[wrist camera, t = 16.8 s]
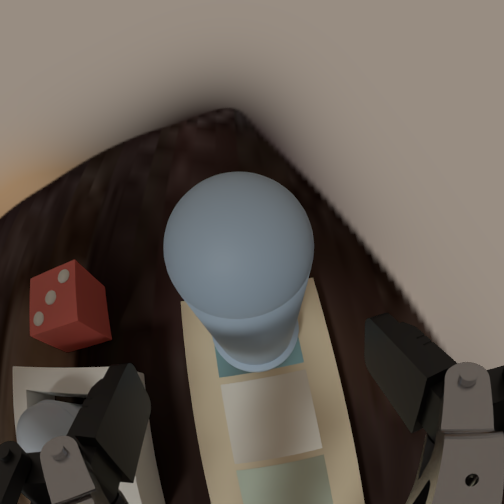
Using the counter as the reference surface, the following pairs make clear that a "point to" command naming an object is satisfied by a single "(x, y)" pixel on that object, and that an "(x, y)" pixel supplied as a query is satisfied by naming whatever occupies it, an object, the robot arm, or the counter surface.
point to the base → (78, 385)
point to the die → (68, 308)
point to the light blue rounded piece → (44, 423)
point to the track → (273, 420)
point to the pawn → (242, 265)
